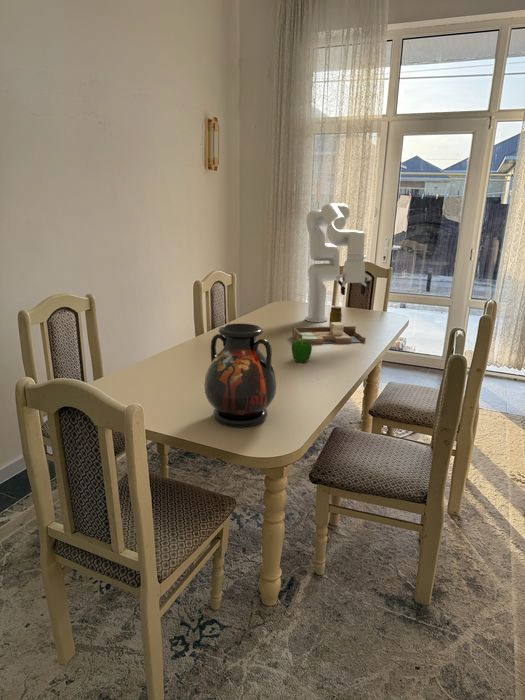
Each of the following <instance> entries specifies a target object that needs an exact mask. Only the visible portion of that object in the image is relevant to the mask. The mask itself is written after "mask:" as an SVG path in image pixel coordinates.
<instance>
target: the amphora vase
mask: <svg viewBox="0 0 525 700" xmlns="http://www.w3.org/2000/svg"><path fill="white" fill-rule="evenodd" d="M263 332H264V330H263V327H261V326H260V325H256V324H251V323H228V324H225V325H222V326H219V328H218V333H217V334H215V335H213V337H212V339H211V342H210V361H211V362H210V365H209V367H208V369H207V371H206V373H205V379H204V384H203V385H204V394H205V397H206V399H207V401H208V402H209V404H210V405H211V407H213V414H212V415H213V417H214V419H215V420H216V421H218V422H219V423H221V424H223V425H224V426H225V425H226V426H229V427H236V428H241V427H242V428H243V427H251V426H255V425H258V424H260V423H262V422H263V421H265V420H266V418H267V416H268V411H267V408H268V407H269V406H270V404H271V403H272V402H273V400H274V399H275V396H276V393H277V381H276V374H275V373H276V372H275V371H274V368H273V366H272V365H273V364H272V356H273V353H272V352H273V351H272V346H271V343H270V342H269V341H268V340H267V339H264V338H259V339H258V340H257V337H258V336H261V335H262V334H263ZM218 340H221V342H222V345H223V348H222V349H220V351H219V352H218V353H217V347H216V346H217V342H218ZM260 344H262V345H264V347H265V351H266V355H265V354H264V353H263V352H262V351H261V350H260V349H259V345H260Z"/></svg>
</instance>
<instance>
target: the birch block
mask: <svg viewBox="0 0 525 700" xmlns="http://www.w3.org/2000/svg"><path fill="white" fill-rule="evenodd" d="M344 326H345V325H344V323H342V321H341V322H331V325H330V333H331V334H333V335H343V328H344Z"/></svg>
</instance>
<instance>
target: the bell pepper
mask: <svg viewBox="0 0 525 700" xmlns="http://www.w3.org/2000/svg"><path fill="white" fill-rule="evenodd" d="M312 347H313V346H312V344H310V343H309V342H308V341H306V342H303V340H302V339H299V341H296V340H295V341H292V344H291V353H292V357H293V360H294V361H295V362H296V363H305V362H308V361H309V360H310V357H311V355H312V352H313V351H312V350H313V348H312Z"/></svg>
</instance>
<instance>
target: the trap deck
mask: <svg viewBox="0 0 525 700" xmlns="http://www.w3.org/2000/svg"><path fill="white" fill-rule="evenodd" d="M356 329H357V326H354V325H349V326H348V325H347V326H345V325H344V328H343V335H333V334H331V333H330V327H329V326H310V327H309V326H306V327H304V326H303V327H300V326H298V327H292V338H293V339H294V338H295V339H294V340H295V342H296V341H299V339H302V340H303V342H306V341H308V342H309V343H310V344H311V345H332V344H333V343H340V344H360V343H359V342H365V343H366V341H367V340H366V336H364V334H363V335H362V334H361V333H360V332H359V331H357V330H356ZM333 345H334V344H333Z"/></svg>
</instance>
